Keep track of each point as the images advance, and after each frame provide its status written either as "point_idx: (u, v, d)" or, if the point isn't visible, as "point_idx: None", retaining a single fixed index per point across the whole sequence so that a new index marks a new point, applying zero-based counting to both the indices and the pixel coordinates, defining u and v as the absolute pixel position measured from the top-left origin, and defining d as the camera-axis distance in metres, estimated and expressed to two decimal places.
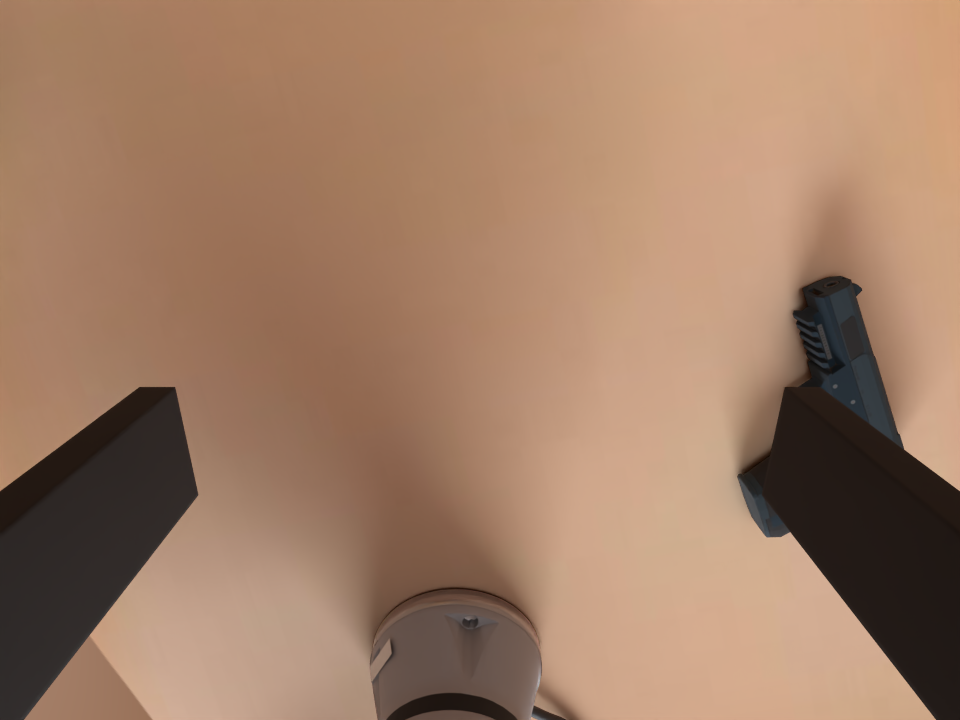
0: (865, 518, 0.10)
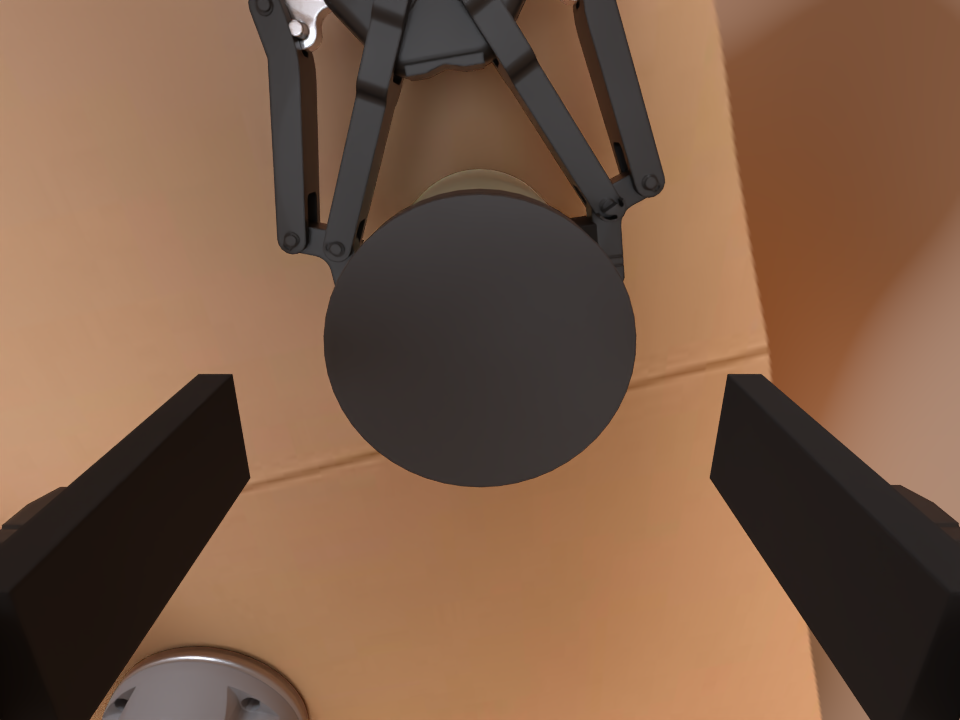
0: (789, 494, 0.10)
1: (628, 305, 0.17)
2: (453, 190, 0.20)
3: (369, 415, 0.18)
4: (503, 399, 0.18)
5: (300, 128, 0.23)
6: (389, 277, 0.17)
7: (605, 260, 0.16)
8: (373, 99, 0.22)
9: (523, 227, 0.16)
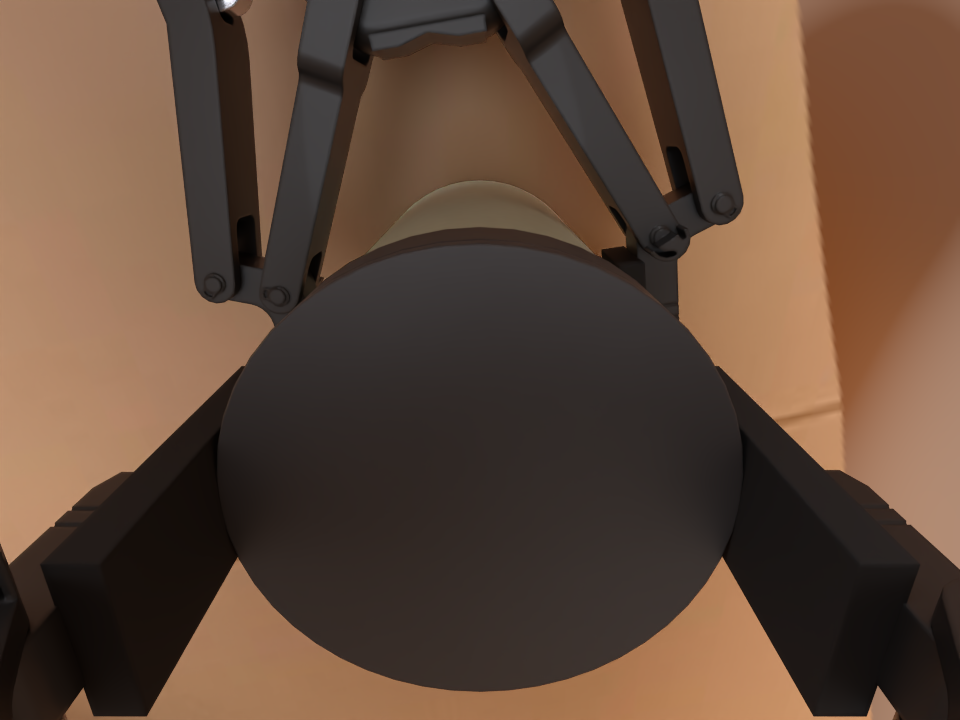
0: None
1: (734, 429, 0.10)
2: (439, 220, 0.13)
3: (300, 593, 0.11)
4: (519, 569, 0.11)
5: (220, 126, 0.16)
6: (322, 384, 0.10)
7: (700, 356, 0.09)
8: (324, 84, 0.15)
9: (557, 301, 0.09)
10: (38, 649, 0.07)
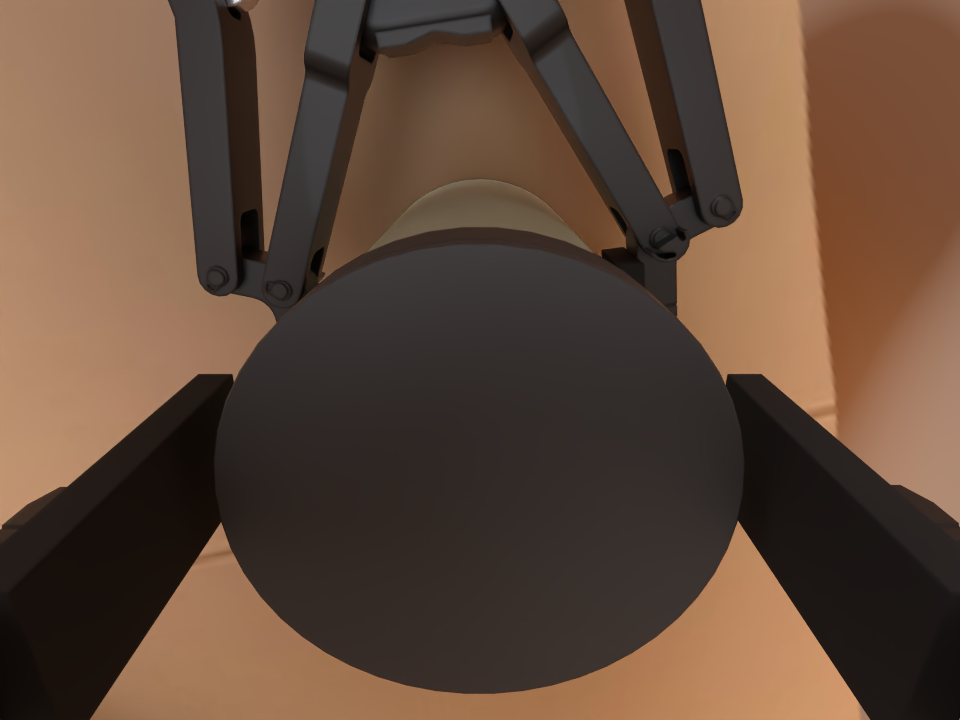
0: (789, 494, 0.10)
1: (394, 262, 0.09)
2: (442, 218, 0.14)
3: (567, 656, 0.12)
4: (565, 477, 0.10)
5: (226, 120, 0.16)
6: (347, 611, 0.11)
7: (307, 306, 0.09)
8: (329, 80, 0.15)
9: (260, 435, 0.10)
10: None
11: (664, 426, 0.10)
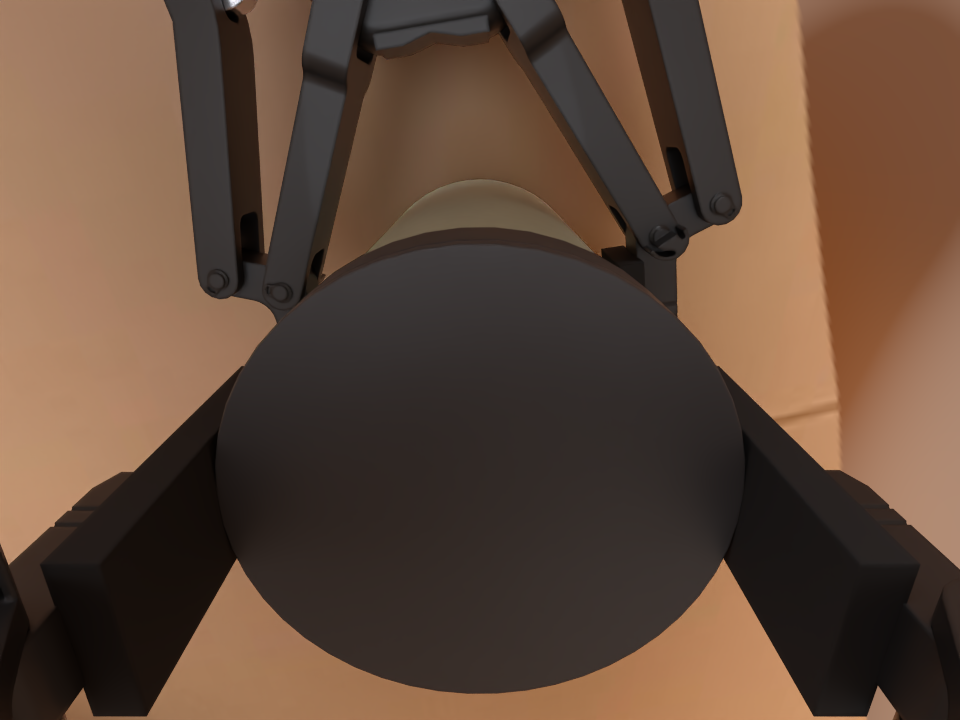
0: None
1: (392, 263, 0.09)
2: (441, 218, 0.14)
3: (569, 655, 0.12)
4: (565, 476, 0.10)
5: (224, 123, 0.16)
6: (349, 611, 0.11)
7: (306, 308, 0.09)
8: (328, 83, 0.15)
9: (260, 437, 0.10)
10: (38, 649, 0.07)
11: (664, 424, 0.10)
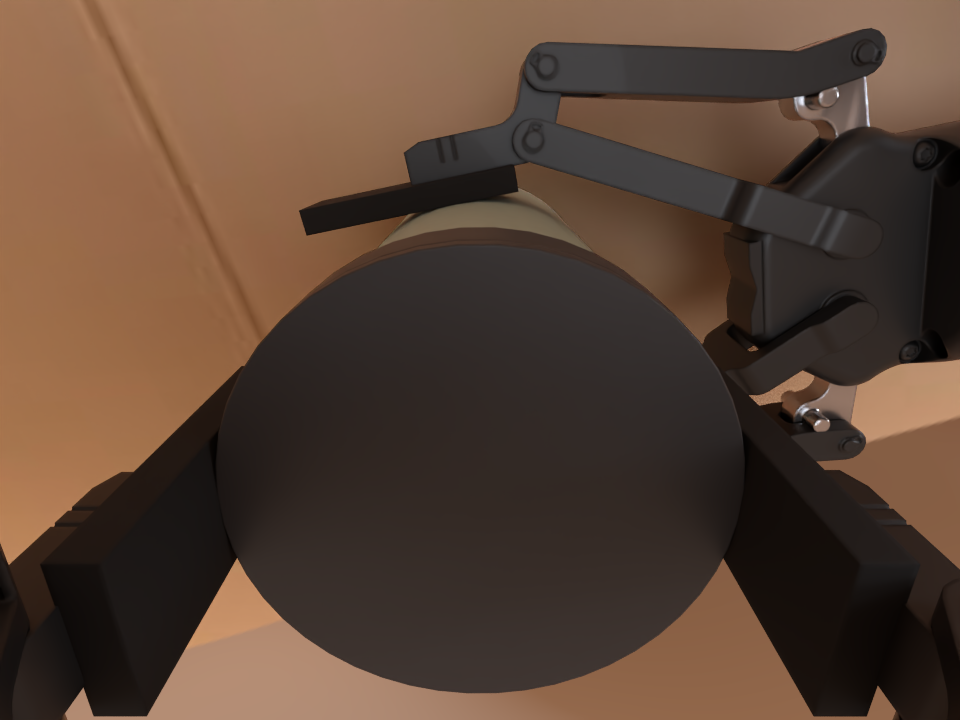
0: None
1: (392, 263, 0.09)
2: None
3: (569, 655, 0.12)
4: (565, 475, 0.10)
5: (704, 95, 0.16)
6: (349, 611, 0.11)
7: (307, 308, 0.09)
8: (730, 202, 0.17)
9: (261, 436, 0.10)
10: (39, 648, 0.07)
11: (664, 424, 0.10)
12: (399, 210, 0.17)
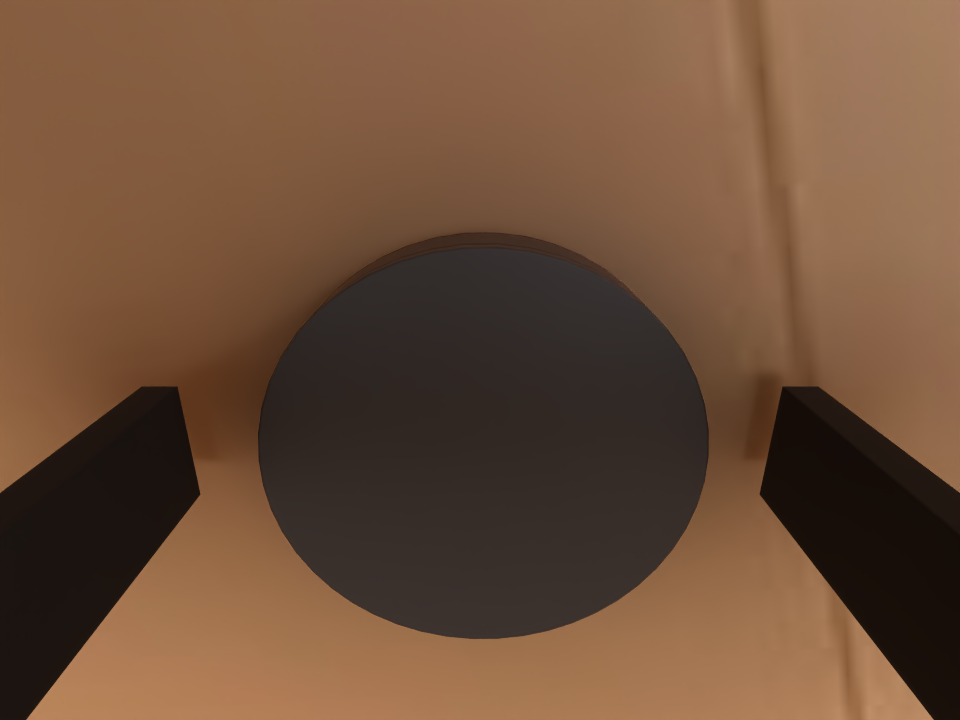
0: (862, 517, 0.10)
1: (410, 263, 0.11)
2: None
3: (561, 604, 0.14)
4: (556, 444, 0.12)
5: None
6: (370, 564, 0.13)
7: (339, 301, 0.11)
8: None
9: (298, 410, 0.12)
10: None
11: (639, 399, 0.12)
12: None
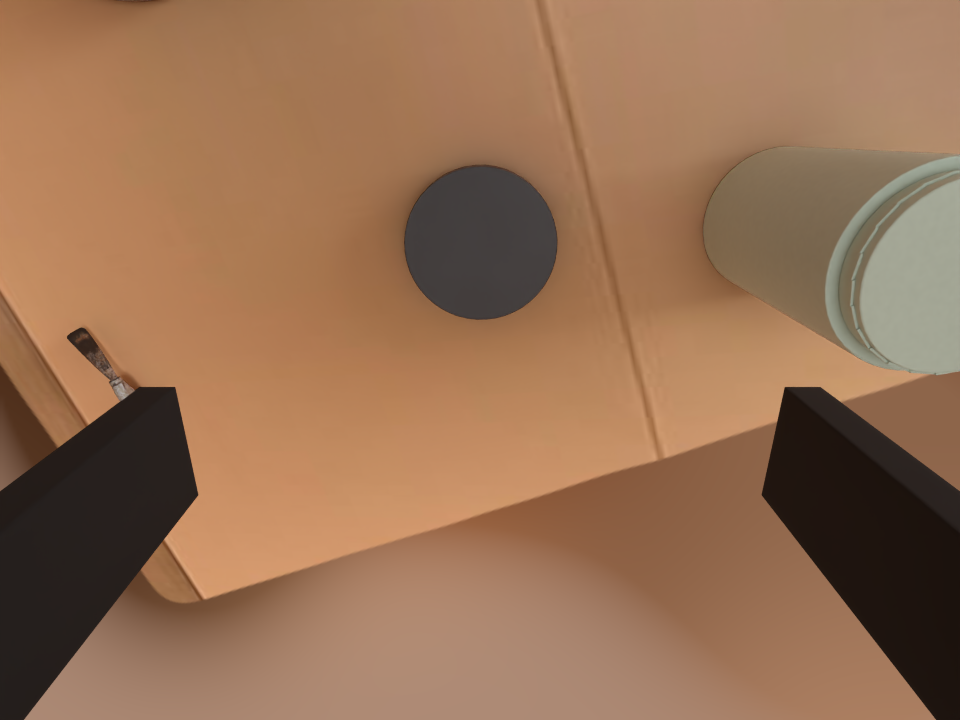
0: (865, 518, 0.10)
1: (458, 171, 0.34)
2: None
3: (509, 303, 0.37)
4: (505, 236, 0.35)
5: None
6: (440, 285, 0.37)
7: (435, 184, 0.34)
8: None
9: (419, 223, 0.35)
10: None
11: (532, 219, 0.35)
12: None
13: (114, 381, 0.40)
